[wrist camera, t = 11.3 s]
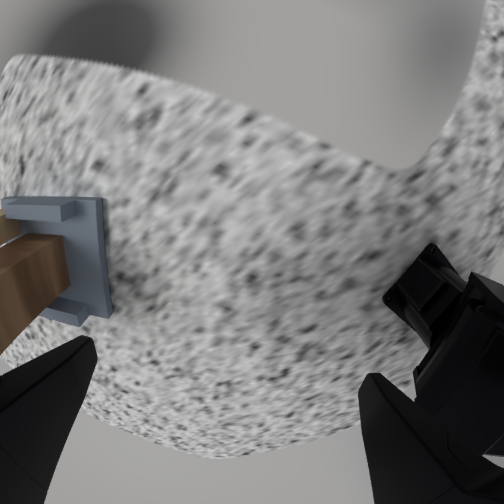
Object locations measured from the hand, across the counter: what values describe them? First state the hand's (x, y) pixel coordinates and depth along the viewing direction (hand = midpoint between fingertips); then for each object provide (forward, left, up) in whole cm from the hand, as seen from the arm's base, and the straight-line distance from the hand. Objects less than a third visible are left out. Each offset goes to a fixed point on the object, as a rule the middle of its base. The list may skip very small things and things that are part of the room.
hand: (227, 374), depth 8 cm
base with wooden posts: (+13, +12, -13) cm, 22 cm away
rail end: (+13, +12, -12) cm, 21 cm away
